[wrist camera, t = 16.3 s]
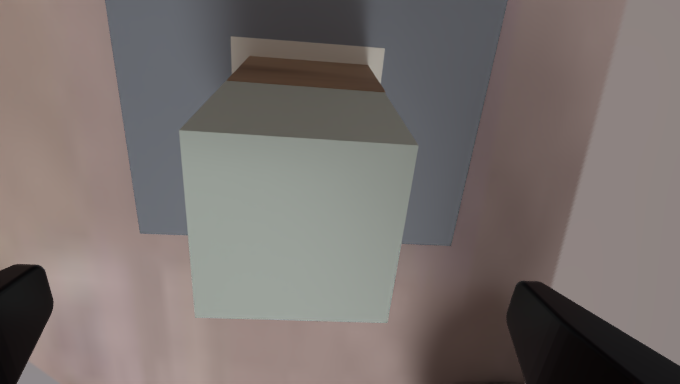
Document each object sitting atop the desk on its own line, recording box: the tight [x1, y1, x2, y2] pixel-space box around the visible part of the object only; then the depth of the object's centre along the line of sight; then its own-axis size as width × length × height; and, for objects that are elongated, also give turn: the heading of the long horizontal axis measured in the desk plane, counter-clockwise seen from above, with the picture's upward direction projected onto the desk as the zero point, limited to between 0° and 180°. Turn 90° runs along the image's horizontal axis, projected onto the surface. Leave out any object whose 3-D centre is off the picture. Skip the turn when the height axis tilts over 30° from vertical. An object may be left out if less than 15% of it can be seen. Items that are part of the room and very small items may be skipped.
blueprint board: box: [105, 0, 508, 246], centre depth 19 cm, size 13×16×1 cm
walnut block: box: [227, 56, 385, 92], centre depth 17 cm, size 5×5×5 cm
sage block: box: [179, 81, 419, 323], centre depth 12 cm, size 5×5×5 cm
